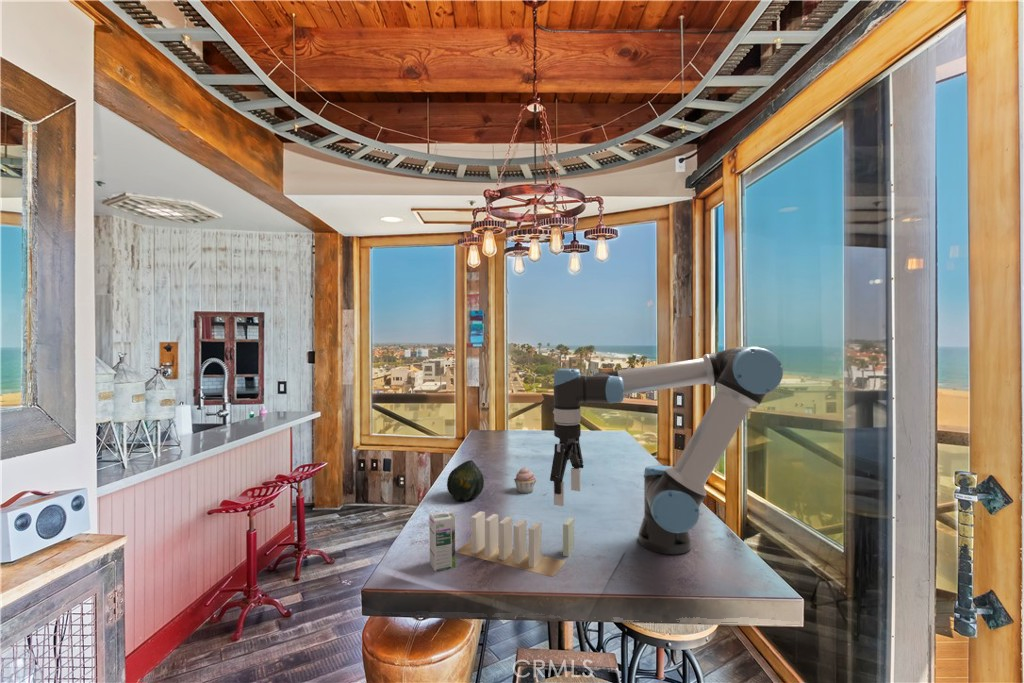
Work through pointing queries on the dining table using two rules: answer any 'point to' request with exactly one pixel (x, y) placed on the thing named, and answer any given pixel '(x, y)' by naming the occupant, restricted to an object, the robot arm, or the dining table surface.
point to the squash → (465, 481)
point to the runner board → (543, 567)
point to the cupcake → (525, 481)
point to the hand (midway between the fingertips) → (567, 497)
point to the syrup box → (442, 540)
